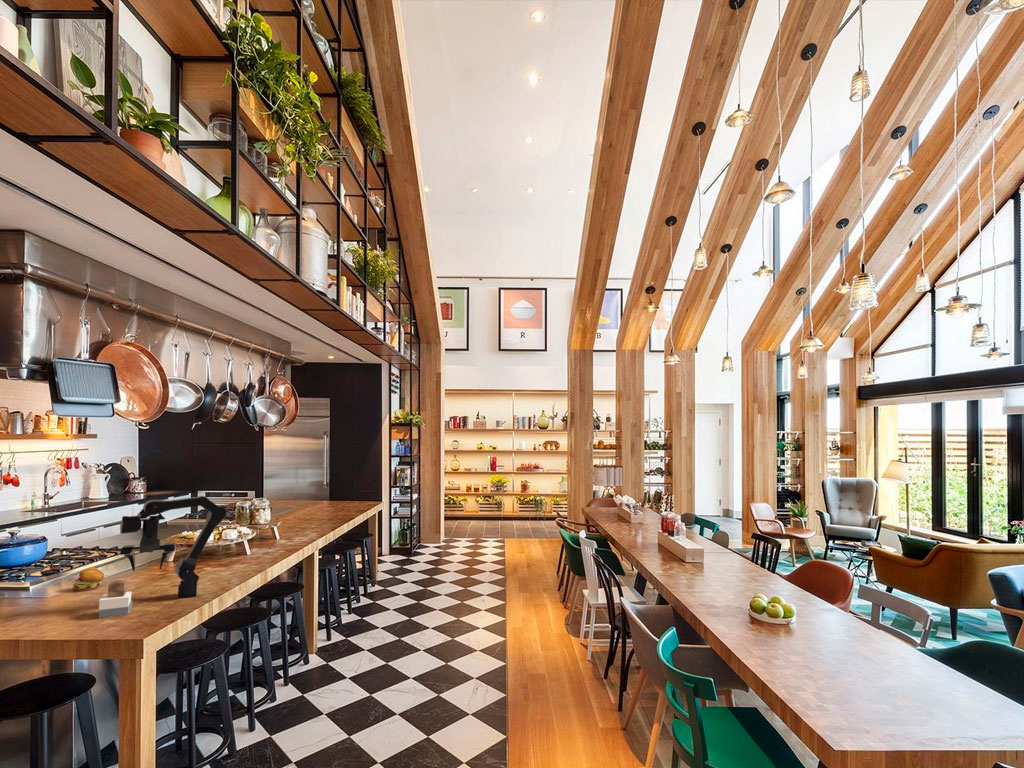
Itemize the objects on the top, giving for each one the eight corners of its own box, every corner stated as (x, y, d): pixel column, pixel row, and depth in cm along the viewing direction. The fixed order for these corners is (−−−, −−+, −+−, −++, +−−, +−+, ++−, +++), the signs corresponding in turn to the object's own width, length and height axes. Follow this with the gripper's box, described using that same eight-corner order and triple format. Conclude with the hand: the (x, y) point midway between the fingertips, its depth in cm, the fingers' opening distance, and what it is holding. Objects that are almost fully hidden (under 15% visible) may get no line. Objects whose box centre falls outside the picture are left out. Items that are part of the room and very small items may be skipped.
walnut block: (125, 593, 214) (127, 579, 214) (123, 596, 209) (124, 582, 210) (110, 594, 212) (111, 581, 212) (107, 597, 207) (108, 583, 208)
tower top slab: (130, 600, 216) (131, 591, 216) (127, 606, 208) (128, 597, 208) (102, 603, 211) (103, 594, 212) (98, 610, 204) (99, 600, 204)
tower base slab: (131, 609, 216) (132, 600, 216) (127, 616, 208) (128, 606, 208) (103, 612, 212) (104, 603, 212) (98, 619, 204) (99, 609, 204)
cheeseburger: (85, 584, 248) (92, 563, 249) (105, 591, 247) (112, 569, 248) (65, 590, 239) (72, 567, 239) (86, 597, 237) (93, 574, 238)
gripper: (119, 535, 215) (115, 576, 214) (174, 532, 223) (171, 572, 222) (124, 531, 225) (121, 570, 224) (177, 528, 233) (174, 566, 232)
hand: (147, 569), depth 225 cm, fingers open, 9 cm apart
